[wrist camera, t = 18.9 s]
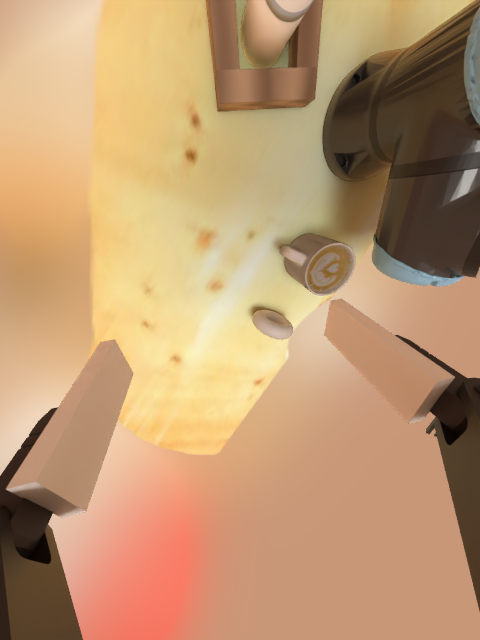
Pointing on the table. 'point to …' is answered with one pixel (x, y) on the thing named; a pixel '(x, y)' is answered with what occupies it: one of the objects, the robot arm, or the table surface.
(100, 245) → the table surface
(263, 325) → the donut
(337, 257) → the coffee mug
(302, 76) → the cradle
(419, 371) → the robot arm
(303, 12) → the white cylinder
